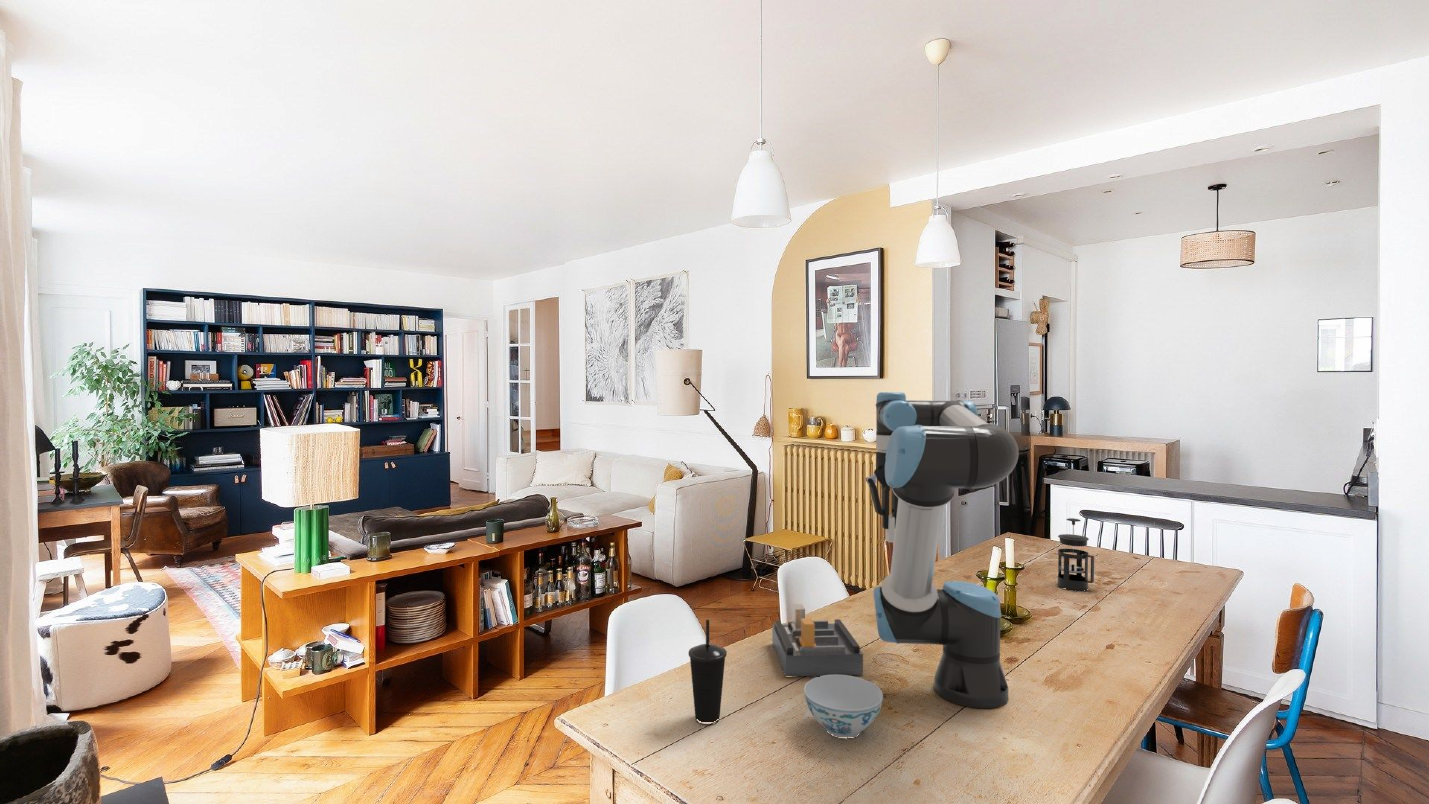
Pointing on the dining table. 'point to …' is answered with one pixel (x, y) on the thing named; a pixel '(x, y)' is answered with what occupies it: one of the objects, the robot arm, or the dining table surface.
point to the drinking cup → (707, 678)
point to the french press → (1073, 580)
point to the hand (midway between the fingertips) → (890, 541)
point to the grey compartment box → (816, 648)
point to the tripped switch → (807, 632)
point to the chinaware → (843, 703)
